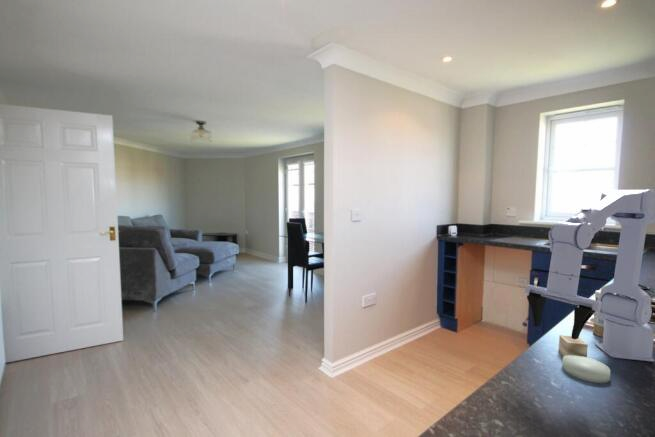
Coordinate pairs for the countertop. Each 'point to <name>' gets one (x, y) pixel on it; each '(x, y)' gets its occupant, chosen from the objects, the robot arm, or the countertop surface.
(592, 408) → the countertop surface
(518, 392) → the countertop surface
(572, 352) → the beech cube
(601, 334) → the sprinkles bottle
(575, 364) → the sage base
